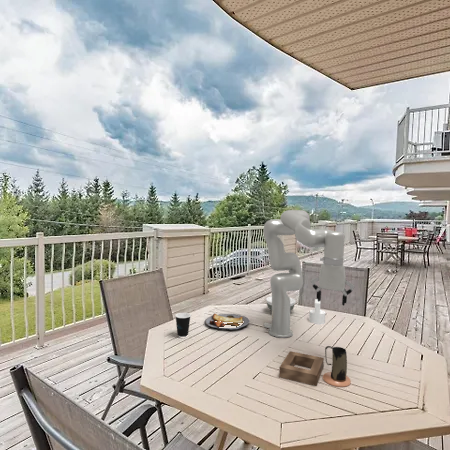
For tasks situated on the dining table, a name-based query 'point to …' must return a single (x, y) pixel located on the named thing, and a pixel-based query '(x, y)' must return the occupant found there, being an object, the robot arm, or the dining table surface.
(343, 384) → the peach smooth round part
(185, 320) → the dixie cup
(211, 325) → the food plate
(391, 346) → the dining table surface
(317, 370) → the frame
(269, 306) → the bowl
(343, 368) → the mug
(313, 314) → the cylinder with rectangular tab
